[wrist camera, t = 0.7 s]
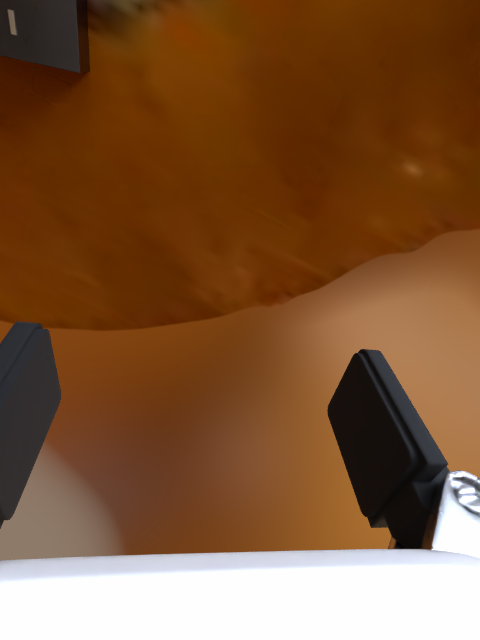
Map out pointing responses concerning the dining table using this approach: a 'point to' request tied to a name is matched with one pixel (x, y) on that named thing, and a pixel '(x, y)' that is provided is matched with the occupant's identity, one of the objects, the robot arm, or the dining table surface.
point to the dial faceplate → (46, 32)
